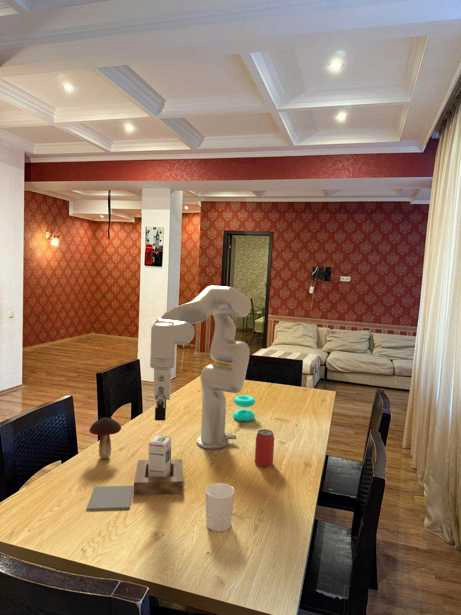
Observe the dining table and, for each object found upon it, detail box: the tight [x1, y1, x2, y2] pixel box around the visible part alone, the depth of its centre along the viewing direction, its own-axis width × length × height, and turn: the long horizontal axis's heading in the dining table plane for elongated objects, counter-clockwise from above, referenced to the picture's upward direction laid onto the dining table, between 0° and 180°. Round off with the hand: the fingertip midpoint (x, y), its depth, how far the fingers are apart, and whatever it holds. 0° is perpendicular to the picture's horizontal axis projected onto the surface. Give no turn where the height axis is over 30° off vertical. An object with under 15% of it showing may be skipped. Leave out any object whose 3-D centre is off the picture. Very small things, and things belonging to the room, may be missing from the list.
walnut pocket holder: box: [133, 458, 184, 496], centre depth 140 cm, size 15×15×4 cm
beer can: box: [254, 428, 275, 469], centre depth 155 cm, size 7×7×12 cm
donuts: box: [232, 394, 256, 422], centre depth 200 cm, size 10×10×10 cm
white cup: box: [205, 482, 235, 533], centre depth 118 cm, size 8×8×10 cm
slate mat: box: [86, 485, 134, 511], centre depth 129 cm, size 12×12×1 cm
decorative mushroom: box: [89, 416, 122, 460], centre depth 154 cm, size 11×11×15 cm
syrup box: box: [147, 435, 172, 477], centre depth 139 cm, size 6×6×14 cm
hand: (160, 414), depth 137 cm, fingers open, 9 cm apart
